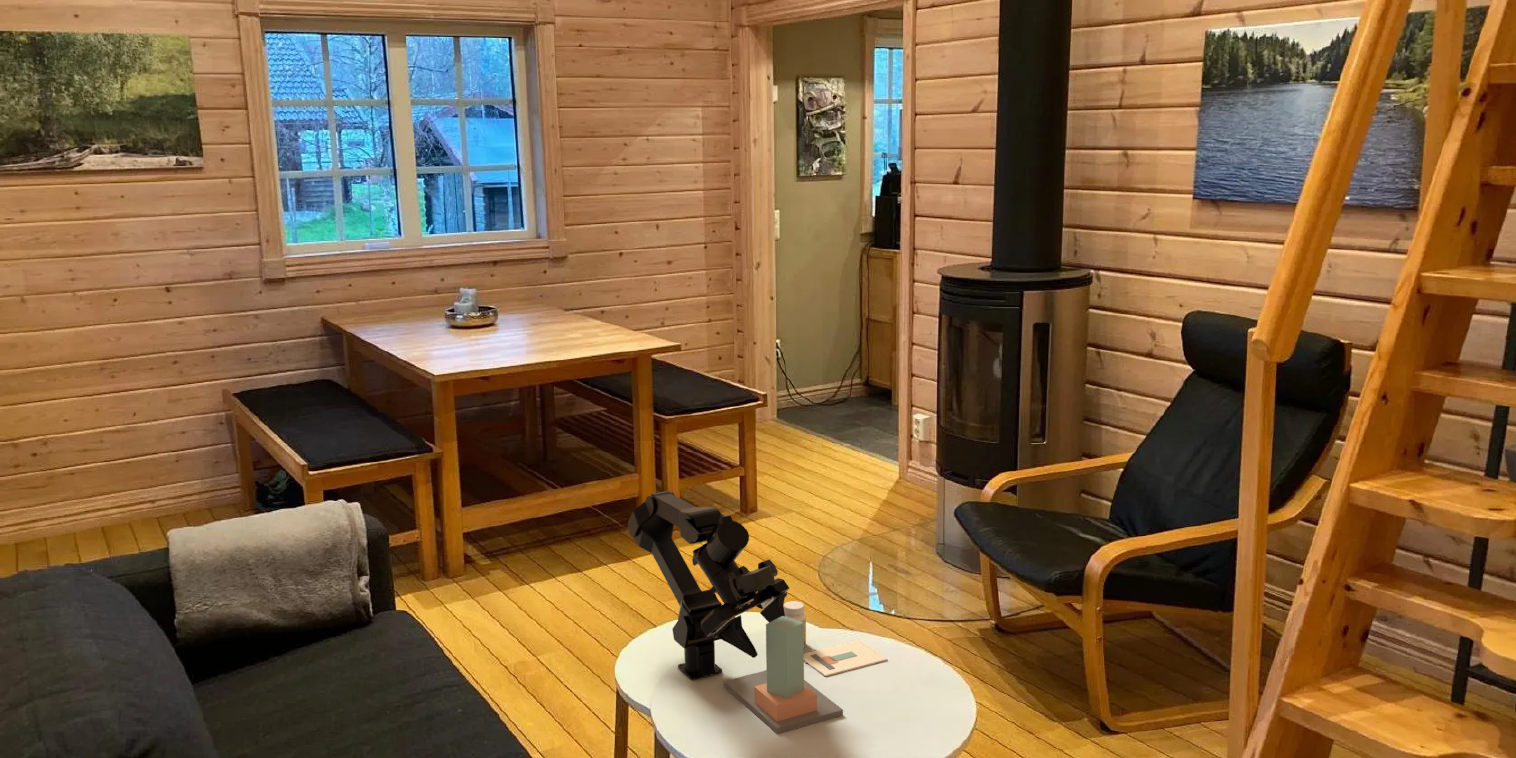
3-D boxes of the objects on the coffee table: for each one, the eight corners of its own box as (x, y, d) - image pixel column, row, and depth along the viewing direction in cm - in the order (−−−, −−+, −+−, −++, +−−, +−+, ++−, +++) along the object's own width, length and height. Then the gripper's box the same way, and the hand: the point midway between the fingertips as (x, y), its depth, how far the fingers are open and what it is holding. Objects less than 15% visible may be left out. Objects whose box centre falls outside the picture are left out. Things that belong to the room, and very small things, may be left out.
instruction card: (797, 656, 222) (797, 654, 221) (858, 641, 228) (858, 639, 228) (825, 676, 213) (825, 674, 213) (887, 660, 219) (887, 658, 219)
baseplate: (723, 686, 210) (723, 665, 209) (785, 670, 216) (785, 650, 215) (777, 733, 192) (777, 711, 192) (842, 714, 198) (842, 693, 198)
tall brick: (766, 691, 199) (765, 624, 196) (783, 681, 202) (782, 615, 200) (787, 699, 196) (786, 631, 194) (804, 689, 199) (803, 622, 197)
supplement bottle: (777, 646, 226) (776, 606, 225) (790, 637, 230) (790, 598, 228) (797, 652, 224) (797, 611, 222) (810, 643, 227) (810, 603, 226)
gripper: (712, 564, 192) (764, 643, 188) (780, 535, 207) (830, 607, 202) (679, 597, 199) (728, 674, 194) (747, 566, 213) (795, 637, 209)
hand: (772, 647), depth 200 cm, fingers open, 9 cm apart
